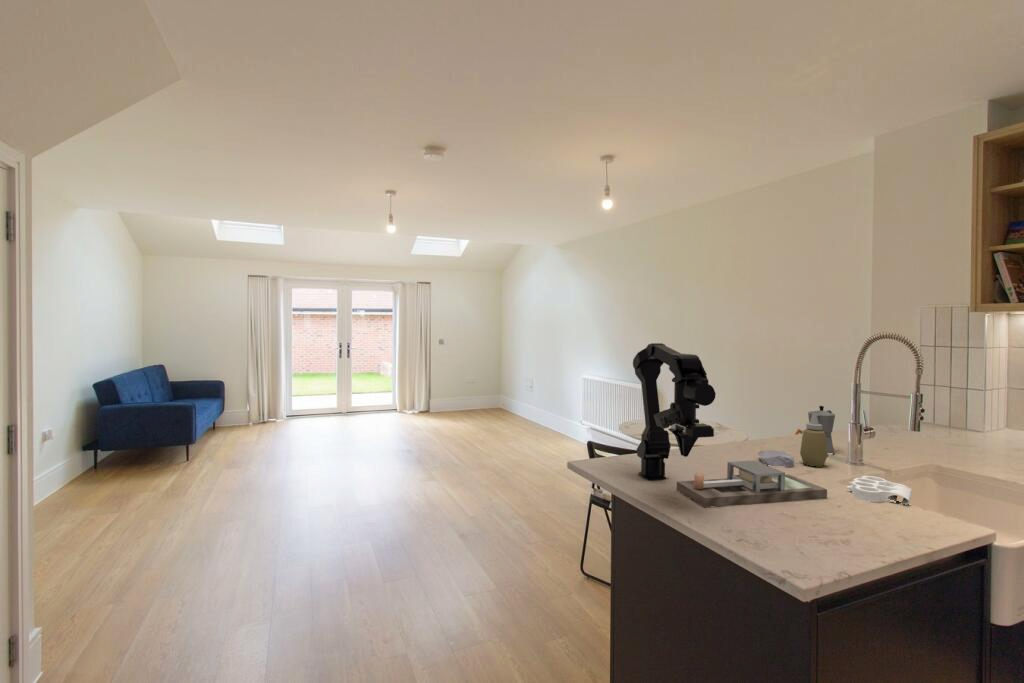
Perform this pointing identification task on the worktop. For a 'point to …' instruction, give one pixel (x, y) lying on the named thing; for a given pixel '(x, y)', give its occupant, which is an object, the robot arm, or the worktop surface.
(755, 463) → the tunnel
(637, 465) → the worktop surface
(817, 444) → the squeeze bottle
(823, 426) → the coffeepot
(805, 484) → the deck
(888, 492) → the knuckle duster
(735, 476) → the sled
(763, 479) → the block
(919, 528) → the worktop surface
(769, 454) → the stone block
